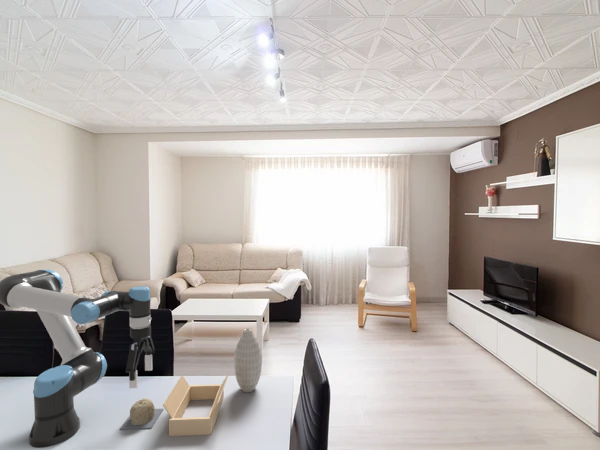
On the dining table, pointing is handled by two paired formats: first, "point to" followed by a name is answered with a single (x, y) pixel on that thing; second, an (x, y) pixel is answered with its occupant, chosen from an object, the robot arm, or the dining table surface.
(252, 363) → the vase
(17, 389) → the dining table surface
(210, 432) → the carton
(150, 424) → the mat
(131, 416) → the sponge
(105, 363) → the robot arm
